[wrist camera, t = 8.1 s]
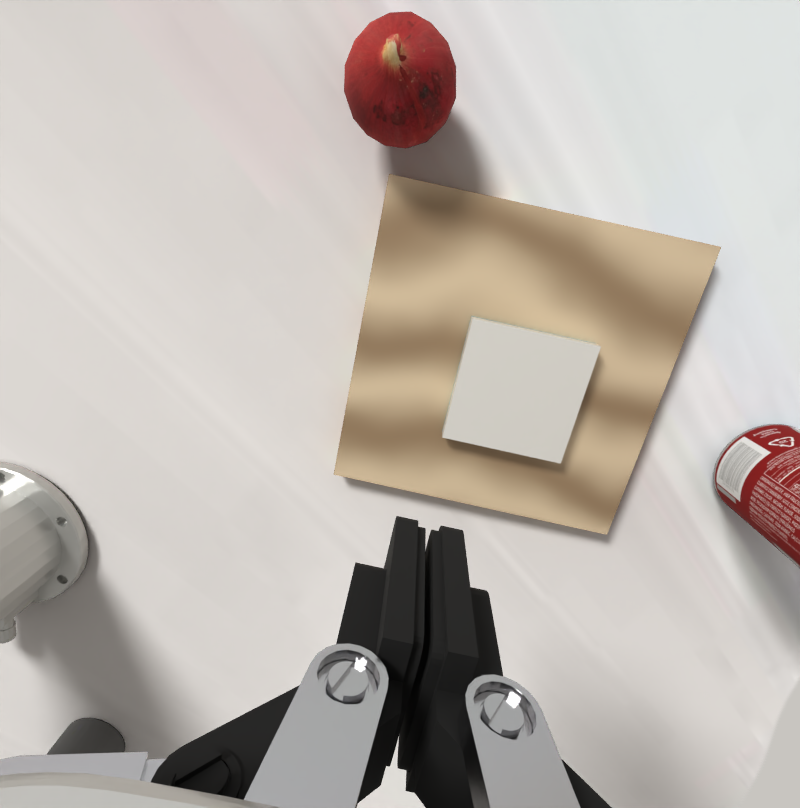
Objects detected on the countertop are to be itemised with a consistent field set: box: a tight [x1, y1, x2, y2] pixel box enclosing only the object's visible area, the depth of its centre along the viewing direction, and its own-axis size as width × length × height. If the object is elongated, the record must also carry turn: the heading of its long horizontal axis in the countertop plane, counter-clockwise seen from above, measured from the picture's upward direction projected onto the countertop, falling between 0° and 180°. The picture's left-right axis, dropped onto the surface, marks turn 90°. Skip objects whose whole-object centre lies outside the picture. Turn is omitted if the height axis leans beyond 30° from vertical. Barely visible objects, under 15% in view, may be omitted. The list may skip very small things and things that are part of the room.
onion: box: [344, 12, 456, 148], centre depth 25 cm, size 6×6×8 cm
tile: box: [442, 316, 601, 464], centre depth 31 cm, size 8×1×8 cm
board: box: [334, 174, 721, 535], centre depth 32 cm, size 20×20×2 cm
